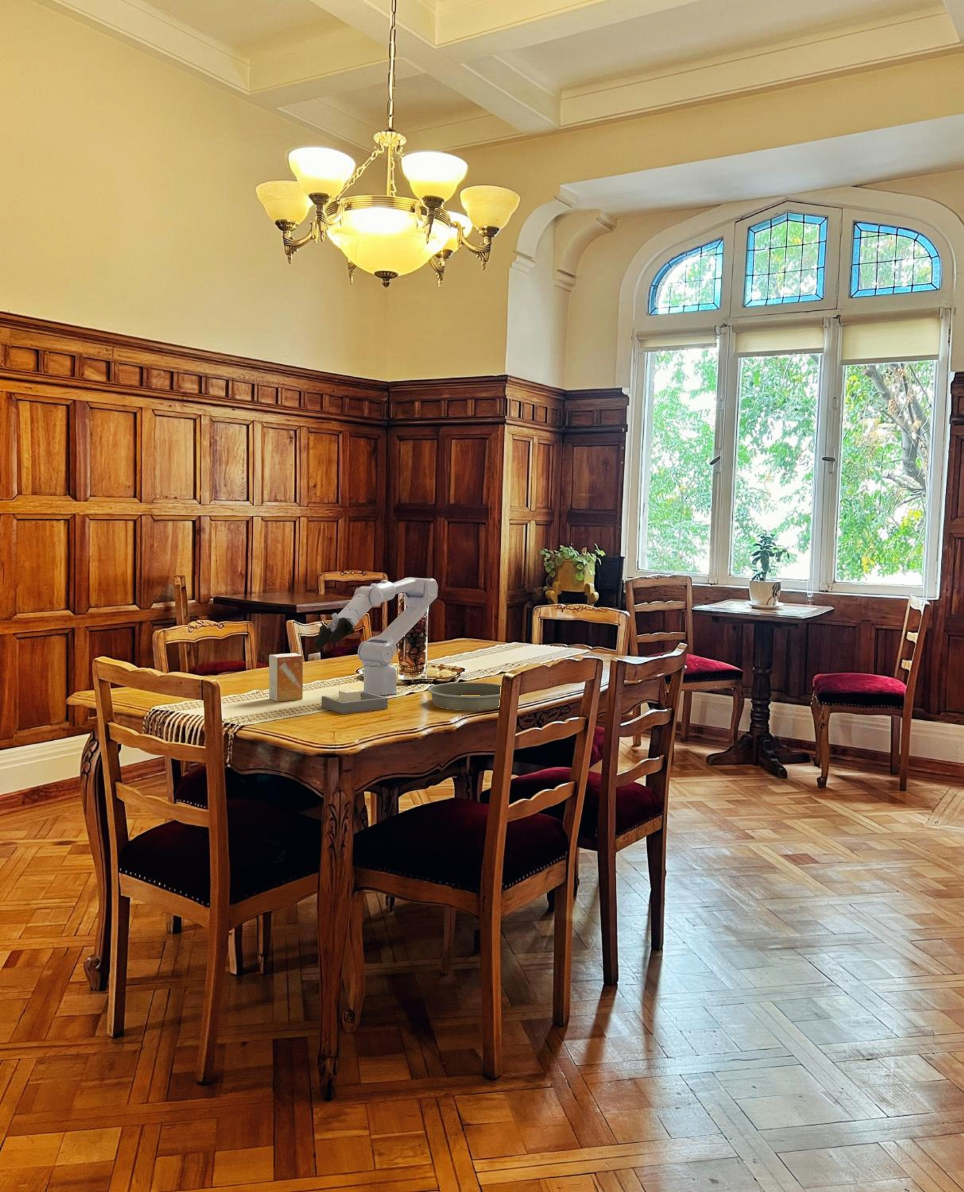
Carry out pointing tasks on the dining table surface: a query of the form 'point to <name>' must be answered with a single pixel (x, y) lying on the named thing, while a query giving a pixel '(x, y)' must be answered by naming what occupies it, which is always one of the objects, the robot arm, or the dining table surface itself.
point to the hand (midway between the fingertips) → (323, 644)
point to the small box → (286, 677)
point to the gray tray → (356, 704)
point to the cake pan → (452, 698)
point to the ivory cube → (349, 695)
